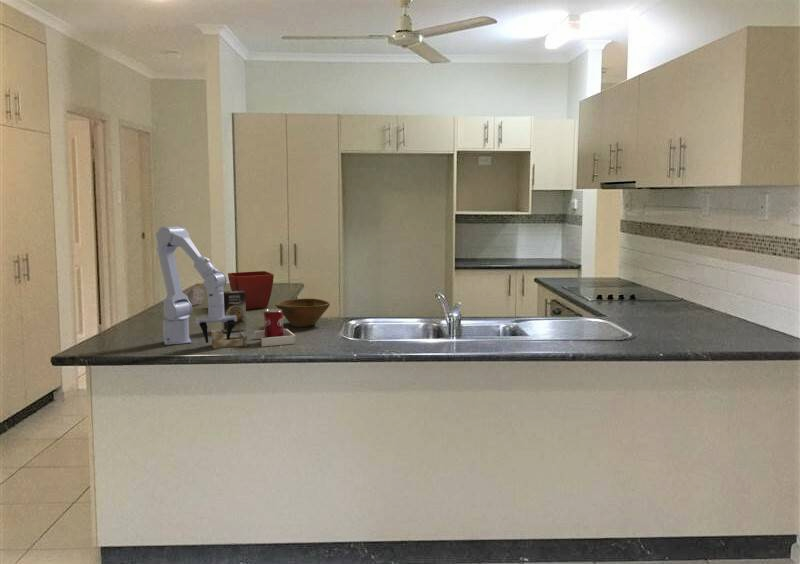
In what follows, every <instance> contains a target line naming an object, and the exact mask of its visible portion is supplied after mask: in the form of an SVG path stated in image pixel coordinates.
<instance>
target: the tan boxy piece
mask: <svg viewBox="0 0 800 564" xmlns="http://www.w3.org/2000/svg"><path fill="white" fill-rule="evenodd" d="M210 332H211V333H210V334H211V336H210V337H211V338H210V339H211V347H212V348H213V349H220V348H221V349H222V348H233V347H242V346H243V347H247V346H248V340H247V339H248V336H247V335H246V334H245V332H243V331H238V332H239V336H230V340H227V336H226V337H224V331H223V329H214V330H210Z"/></svg>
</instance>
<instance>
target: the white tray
mask: <svg viewBox="0 0 800 564" xmlns="http://www.w3.org/2000/svg"><path fill="white" fill-rule="evenodd" d="M283 329H284V336H281V337H269V338H264V330H254V340H259V339H260V340H261V342H260V343H261V347H271V346H286V345H294V344H295V345H296V344H297V336H296V335H295V334H294V333H293V332H292V331H290V330H289V329H288V328H283Z"/></svg>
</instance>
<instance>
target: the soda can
mask: <svg viewBox="0 0 800 564" xmlns="http://www.w3.org/2000/svg"><path fill="white" fill-rule="evenodd" d="M284 329H285V328H284V315H283V311H282V310H281V309H278V308H269V309H264V311H263V331H264V338H269V337H281V336H284Z"/></svg>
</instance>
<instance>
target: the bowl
mask: <svg viewBox="0 0 800 564" xmlns="http://www.w3.org/2000/svg"><path fill="white" fill-rule="evenodd" d="M274 305H275V307H276V309H281V310H282V311H283V317H284V318H285V319H286V321H288V322H289V323H290V325H291V326H293V327H300V328H302V327H304V328H305V326H306V327H311V325H312V326H315V324H317V323H318V321H319V320H320V319H321V317H322V316H323V315H324V313H325V312H327V310H328V309H329V307H330V305H331V303H330V301H327V300H324V299H320V298H319V299H318V298H292V299H291V298H290V299H284V300H281V301H277V302H276V303H275V304H274Z"/></svg>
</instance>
